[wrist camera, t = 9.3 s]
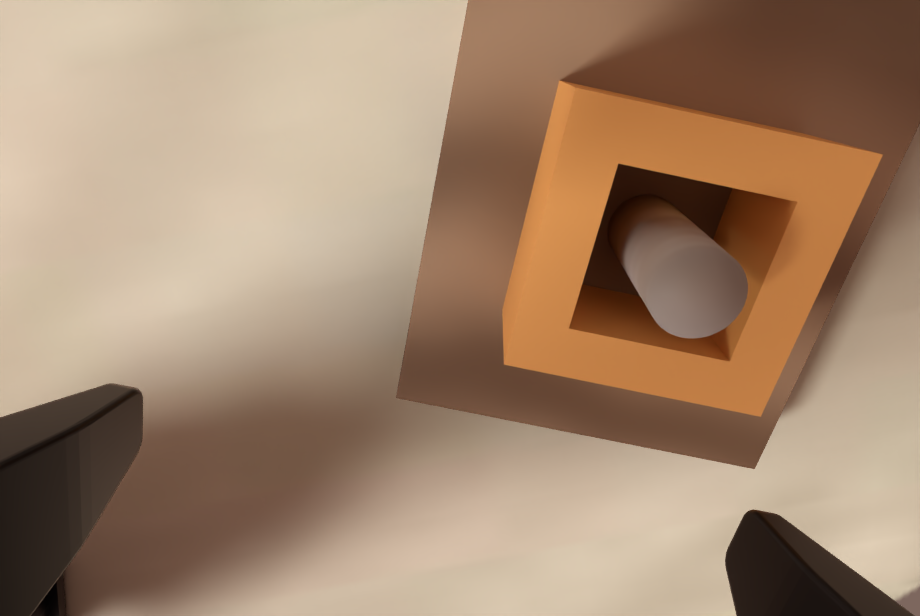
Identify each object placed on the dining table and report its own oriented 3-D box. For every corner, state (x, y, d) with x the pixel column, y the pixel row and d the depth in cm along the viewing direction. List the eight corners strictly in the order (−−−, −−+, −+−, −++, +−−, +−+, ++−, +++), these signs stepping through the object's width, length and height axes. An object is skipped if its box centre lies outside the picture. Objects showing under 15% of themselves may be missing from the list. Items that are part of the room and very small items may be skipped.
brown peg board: (732, 433, 22) (831, 593, 16) (404, 368, 22) (366, 502, 15) (923, 8, 16) (1198, -20, 10) (488, -88, 16) (484, -181, 10)
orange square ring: (714, 353, 19) (760, 416, 15) (502, 309, 18) (503, 364, 15) (804, 133, 16) (883, 154, 13) (559, 80, 16) (575, 88, 13)
